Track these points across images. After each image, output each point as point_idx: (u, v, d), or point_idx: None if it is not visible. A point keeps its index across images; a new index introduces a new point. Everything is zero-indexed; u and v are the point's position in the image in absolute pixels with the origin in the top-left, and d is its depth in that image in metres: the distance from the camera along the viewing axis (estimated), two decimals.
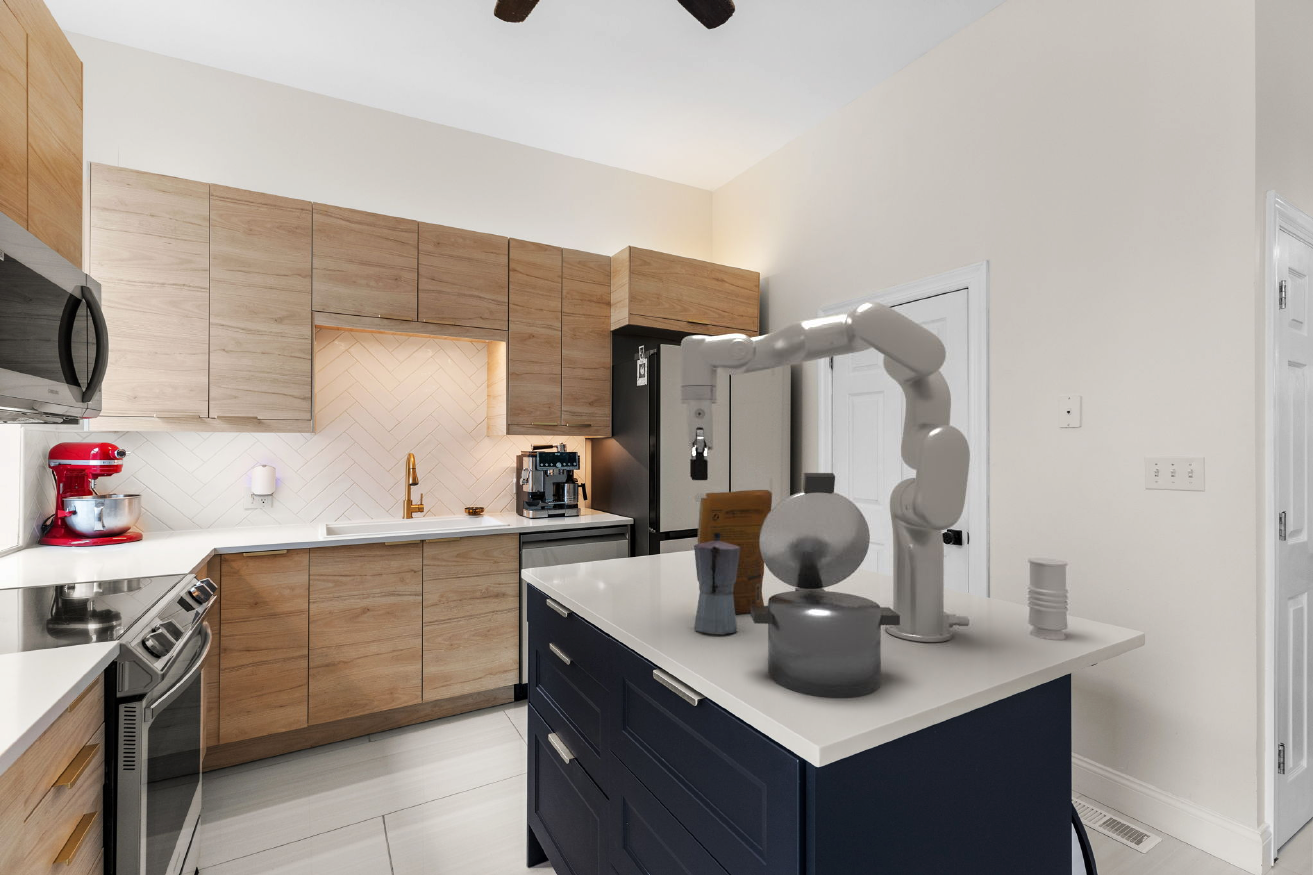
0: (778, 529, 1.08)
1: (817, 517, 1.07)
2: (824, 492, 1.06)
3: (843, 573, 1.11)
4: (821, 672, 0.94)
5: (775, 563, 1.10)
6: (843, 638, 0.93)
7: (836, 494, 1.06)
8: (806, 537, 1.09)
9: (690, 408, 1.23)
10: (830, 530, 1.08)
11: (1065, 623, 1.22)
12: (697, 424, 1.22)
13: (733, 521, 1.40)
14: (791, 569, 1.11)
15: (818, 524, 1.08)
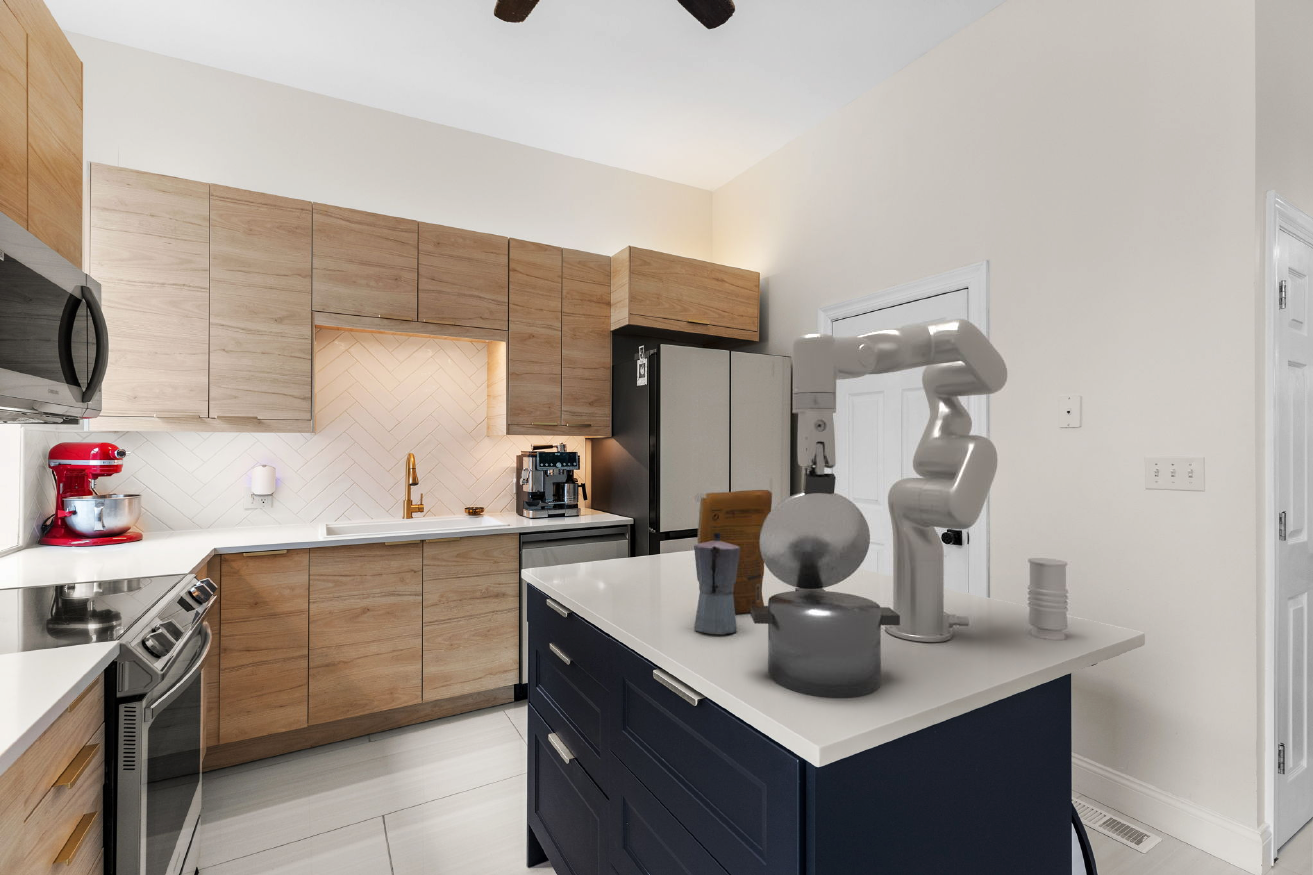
0: (778, 529, 1.08)
1: (817, 518, 1.07)
2: (824, 493, 1.05)
3: (843, 573, 1.11)
4: (821, 672, 0.94)
5: (775, 563, 1.10)
6: (843, 638, 0.93)
7: (836, 495, 1.06)
8: (806, 538, 1.08)
9: (808, 419, 1.05)
10: (830, 531, 1.08)
11: (1065, 623, 1.22)
12: (817, 438, 1.04)
13: (733, 521, 1.40)
14: (791, 569, 1.11)
15: (818, 524, 1.07)
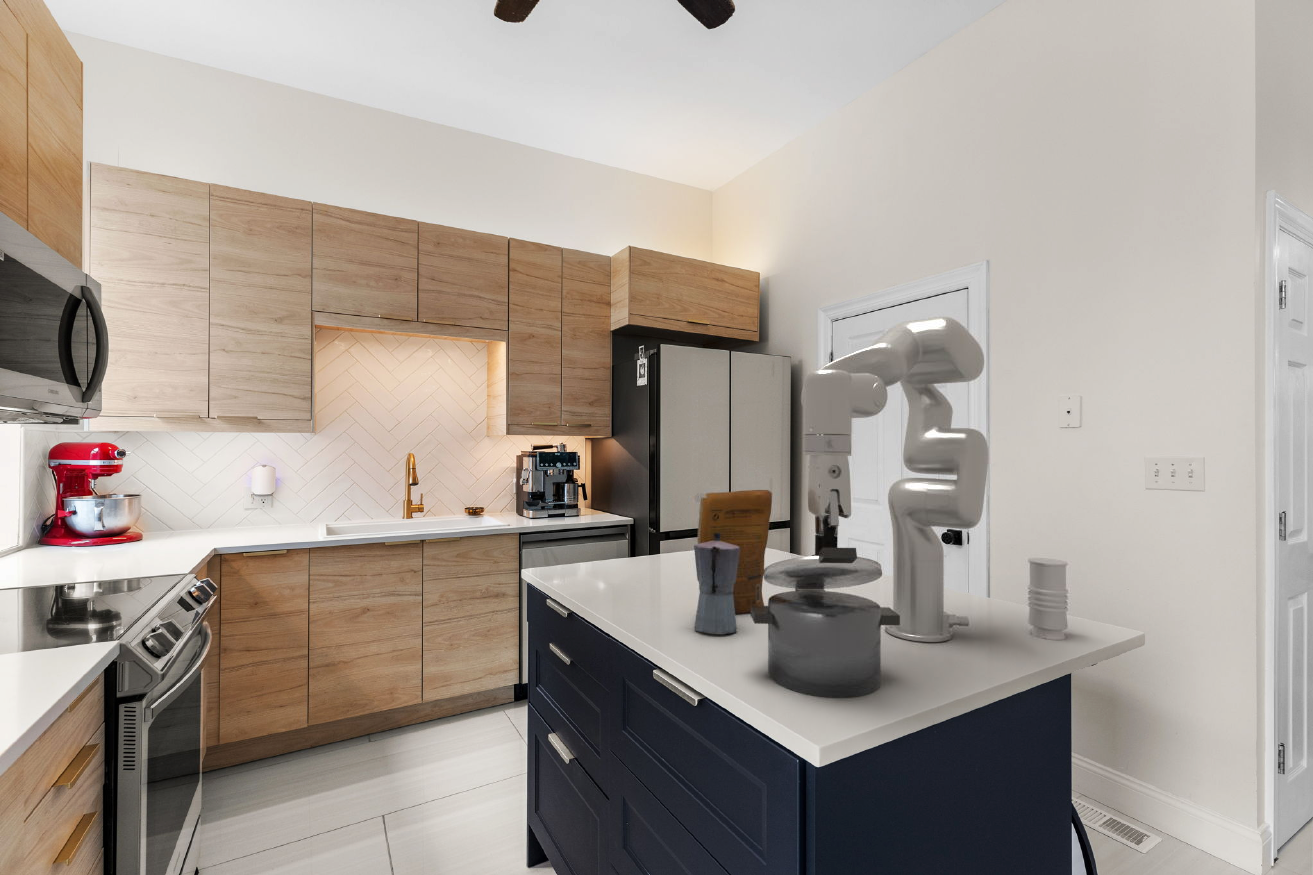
0: (785, 573, 1.01)
1: (829, 570, 0.99)
2: (841, 563, 0.95)
3: (846, 585, 1.09)
4: (821, 672, 0.94)
5: (778, 582, 1.07)
6: (843, 638, 0.93)
7: (854, 560, 0.95)
8: (813, 575, 1.03)
9: (821, 464, 0.96)
10: (840, 574, 1.01)
11: (1065, 623, 1.22)
12: (831, 485, 0.95)
13: (733, 521, 1.40)
14: (794, 583, 1.08)
15: (829, 572, 1.00)
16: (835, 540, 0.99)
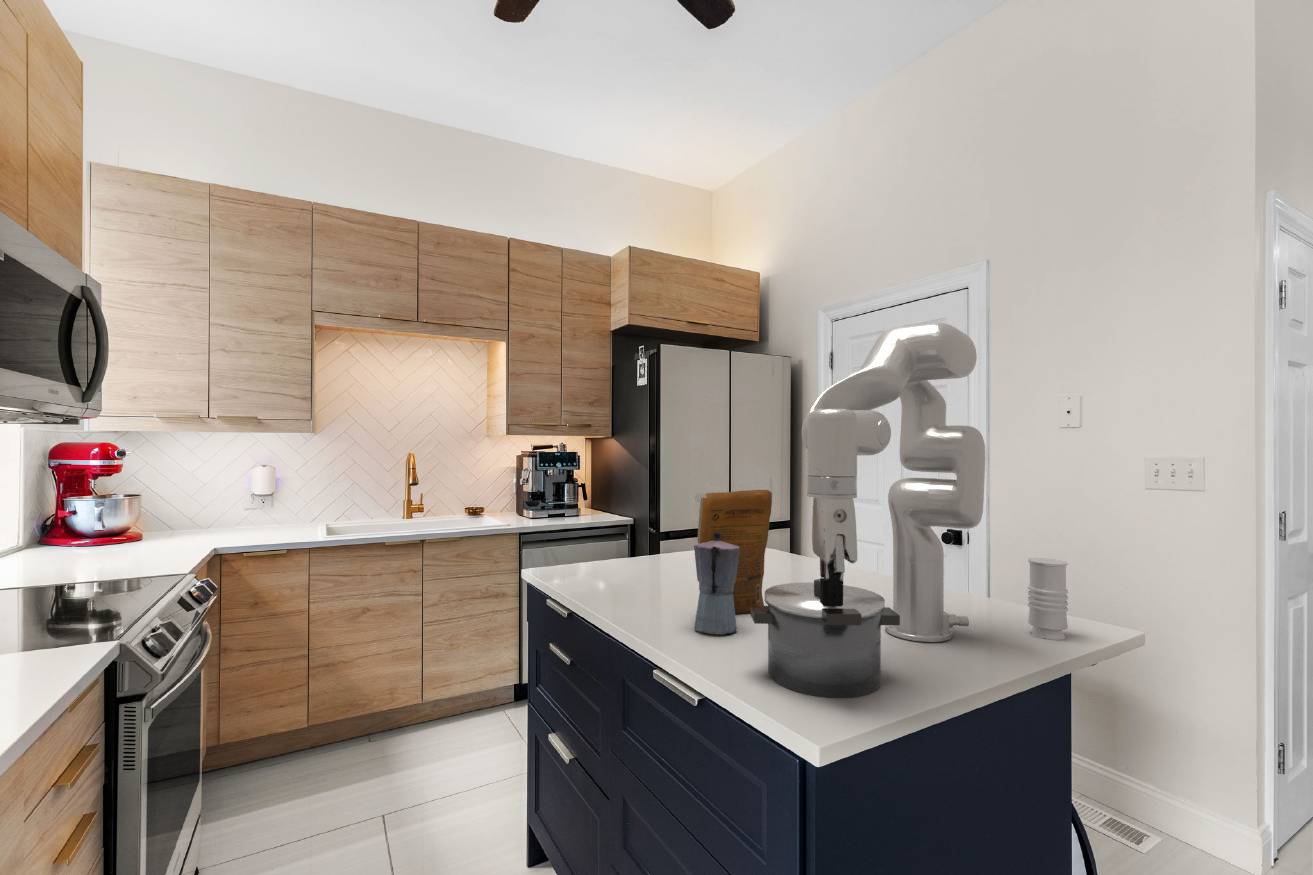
0: None
1: None
2: None
3: None
4: (821, 672, 0.94)
5: None
6: (843, 638, 0.93)
7: None
8: None
9: (826, 507, 0.93)
10: None
11: (1065, 623, 1.22)
12: (837, 530, 0.92)
13: (733, 521, 1.40)
14: None
15: None
16: (841, 584, 0.96)
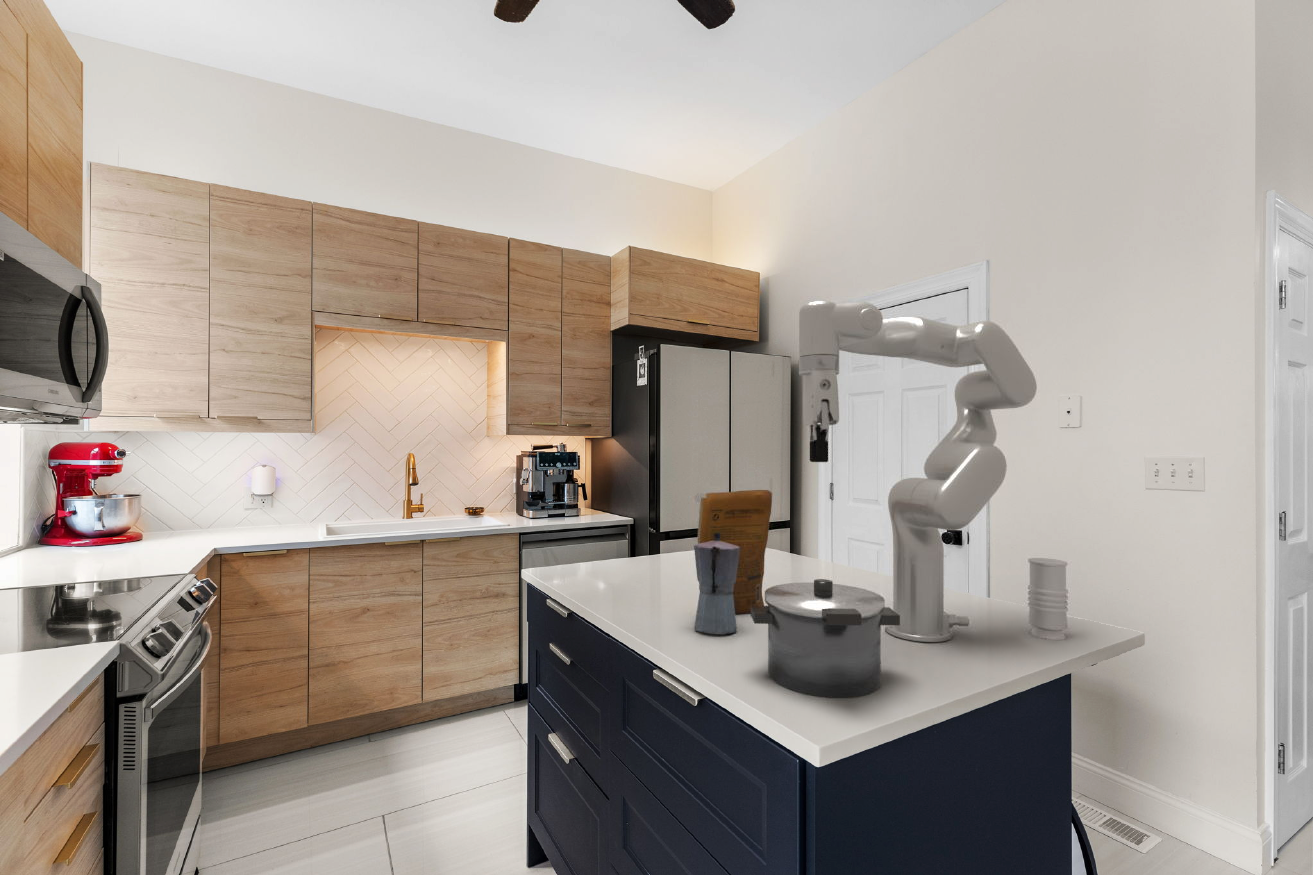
0: None
1: None
2: None
3: None
4: (821, 672, 0.94)
5: None
6: (843, 638, 0.93)
7: None
8: None
9: (814, 379, 1.15)
10: None
11: (1065, 623, 1.22)
12: (822, 396, 1.14)
13: (733, 521, 1.40)
14: None
15: None
16: (826, 444, 1.18)
